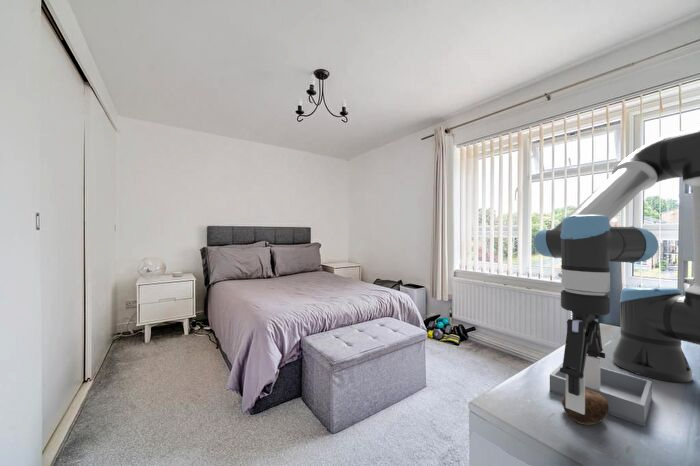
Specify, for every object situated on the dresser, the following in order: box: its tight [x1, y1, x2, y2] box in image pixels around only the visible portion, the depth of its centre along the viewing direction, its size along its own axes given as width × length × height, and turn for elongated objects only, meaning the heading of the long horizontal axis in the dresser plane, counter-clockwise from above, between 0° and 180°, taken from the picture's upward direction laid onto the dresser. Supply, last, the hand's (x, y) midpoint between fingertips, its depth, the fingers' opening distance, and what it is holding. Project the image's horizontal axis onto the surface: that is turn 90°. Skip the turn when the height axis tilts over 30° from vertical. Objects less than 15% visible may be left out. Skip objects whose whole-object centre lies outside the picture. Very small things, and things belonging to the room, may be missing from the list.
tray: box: [549, 362, 653, 427], centre depth 64 cm, size 15×15×4 cm
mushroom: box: [561, 390, 609, 426], centre depth 55 cm, size 8×8×6 cm
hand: (584, 398), depth 55 cm, fingers open, 13 cm apart
